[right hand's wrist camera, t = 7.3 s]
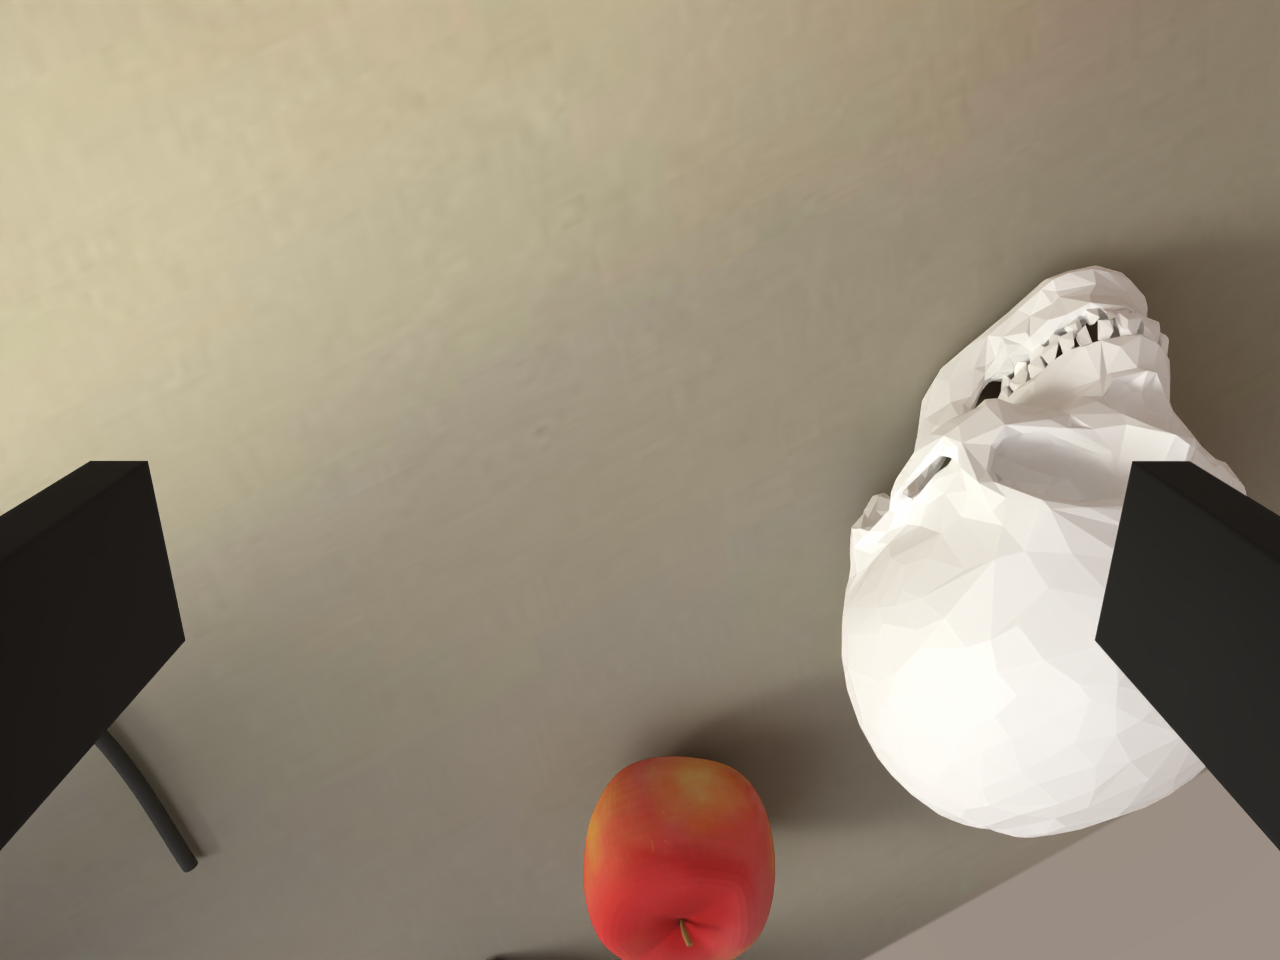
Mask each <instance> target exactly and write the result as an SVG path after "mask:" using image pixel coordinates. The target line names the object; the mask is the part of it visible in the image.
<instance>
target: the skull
mask: <svg viewBox="0 0 1280 960" xmlns="http://www.w3.org/2000/svg"><path fill="white" fill-rule="evenodd" d="M1147 310H1148V306H1147V303H1146V299H1145V296H1144V295H1143V294H1142V293H1141V292H1140V291H1139V289H1138V288H1137V287H1136V286H1135V285H1134V284H1133V283H1132V281H1131V280H1129V279H1128V278H1127V277H1126V276H1125V275H1124V274H1123V273H1122V272H1118V271H1115V270H1111V269H1107V268H1104V267H1100V266H1097V265H1095V266H1090V267H1085V268H1080V269H1075V270H1070V271H1066V272H1064V273H1061V274H1058V275H1056V276H1053V277H1050V278H1048V279H1045V280H1044V281H1043V282H1041V283H1040V284H1039V285H1038V286H1037V287H1036V288H1035V289H1034V290H1032V291H1031V292H1030V293H1029V294H1028V295H1027V296H1026V297H1025V298H1024V299H1022V300H1021V301H1020V302H1019V303H1018V304H1017V305H1016V306H1015V307H1014V308H1012V309H1011V310H1010V311H1009V312H1008V313H1007V314H1006V315H1004V316H1003V317H1002V318H1001V319H1000V320H998V321H997V322H996V323H995V324H993V325H992V326H991V327H990V328H989V329H987V330H986V331H985V332H984V333H982V334H981V335H980V336H979V337H978V338H976V339H975V340H974V341H973V342H972V343H970V344H969V345H968V346H967V347H965V348H964V349H963V350H962V351H961V352H960V353H958V354H957V355H956V356H955V357H954V358H953V359H951V360H950V361H949V362H948V363H947V364H946V365H944V366H943V367H942V368H941V369H940V371H939V373H938V374H937V376H936V378H935V379H934V381H933V383H932V384H931V386H930V388H929V389H928V391H927V393H926V395H925V397H924V398H923V400H922V405H921V413H920V420H919V427H918V434H917V439H916V444H915V450H914V453H913V455H912V456H911V458H910V459H909V461H908V462H907V464H906V465H905V467H904V468H903V470H902V471H901V473H900V474H899V476H898V477H897V478H896V481H895V483H894V486H893V488H892V491H891V497H890V496H888V495H887V494H885V493H881V494H877V495H874V496H872V498H871V500H870V501H869V503H868V505H867V507H866V508H865V510H864V513H863V515H862V516H861V517H860V518H859V519H858V520H857V522H856V523H855V524H854V525H853V526H852V530H851V538H850V561H851V568H850V575H849V581H848V584H847V588H846V594H845V602H844V610H843V618H842V661H843V667H844V673H845V679H846V686H847V691H848V694H849V696H850V699H851V702H852V705H853V708H854V711H855V714H856V717H857V719H858V722H859V725H860V727H861V729H862V731H863V732H864V734H865V736H866V738H867V740H868V741H869V743H870V745H871V747H872V749H873V750H874V752H875V754H876V756H877V757H878V759H879V760H880V761H881V763H882V764H883V765H884V766H885V768H886V769H887V770H888V771H889V773H890V774H891V775H892V776H893V777H894V778H895V779H896V780H897V781H898V782H899V783H900V784H901V785H902V786H903V787H904V788H905V789H906V790H907V791H908V792H909V793H910V794H912V795H913V796H914V797H916V798H917V799H918V800H920V801H921V802H922V803H924V804H925V805H927V806H928V807H929V808H931V809H932V810H933V811H935V812H936V813H938V814H939V815H941V816H943V817H946V818H948V819H950V820H953V821H956V822H958V823H961V824H963V825H968V826H972V827H977V828H983V829H991V830H993V831H996V832H999V833H1003V834H1007V835H1011V836H1015V837H1025V838H1032V837H1040V836H1047V835H1054V834H1059V833H1064V832H1069V831H1074V830H1079V829H1083V828H1086V827H1089V826H1092V825H1095V824H1098V823H1101V822H1104V821H1107V820H1110V819H1113V818H1116V817H1119V816H1122V815H1125V814H1127V813H1130V812H1133V811H1136V810H1139V809H1142V808H1145V807H1147V806H1149V805H1151V804H1153V803H1154V802H1157V801H1159V800H1160V799H1162V798H1164V797H1166V796H1168V795H1170V794H1171V793H1173V792H1174V791H1175V790H1177V789H1178V788H1180V787H1181V786H1183V785H1184V784H1185V783H1187V782H1188V781H1190V780H1191V779H1193V778H1194V777H1195V776H1196V775H1197V774H1198V773H1199V772H1200V771H1202V770H1203V769H1204V768H1205V767H1206V766H1205V765H1204V764H1203V763H1202V762H1201V761H1200V759H1199V758H1198V757H1197V756H1196V755H1195V754H1194V753H1193V752H1192V750H1191V749H1190V748H1189V747H1188V746H1187V745H1186V744H1185V742H1184V741H1183V740H1182V739H1181V738H1180V737H1179V736H1178V734H1177V733H1176V732H1175V731H1174V730H1173V729H1172V728H1171V727H1170V725H1169V724H1168V723H1167V722H1166V721H1165V720H1164V719H1163V717H1162V716H1161V715H1160V714H1159V713H1158V712H1157V711H1156V709H1155V708H1154V707H1153V706H1152V705H1151V704H1150V703H1149V702H1148V700H1147V699H1146V698H1145V697H1144V696H1143V695H1142V694H1141V692H1140V691H1139V690H1138V689H1137V688H1136V687H1135V686H1134V684H1133V683H1132V682H1131V681H1130V680H1129V679H1128V678H1127V677H1126V675H1125V674H1124V673H1123V672H1122V671H1121V670H1120V669H1119V667H1118V666H1117V665H1116V664H1115V663H1114V662H1113V661H1112V660H1111V658H1110V657H1109V656H1108V655H1107V654H1106V653H1105V652H1104V650H1103V649H1102V648H1101V647H1100V646H1099V645H1098V644H1097V642H1096V641H1095V637H1096V632H1097V627H1098V622H1099V617H1100V613H1101V608H1102V603H1103V598H1104V594H1105V589H1106V584H1107V579H1108V575H1109V570H1110V565H1111V560H1112V555H1113V551H1114V546H1115V541H1116V536H1117V532H1118V527H1119V522H1120V517H1121V512H1122V508H1123V503H1124V498H1125V493H1126V489H1127V484H1128V479H1129V474H1130V470H1131V465H1132V461H1190V462H1192V463H1194V464H1195V465H1197V466H1199V467H1200V468H1202V469H1204V470H1205V471H1207V472H1208V473H1210V474H1212V475H1213V476H1215V477H1217V478H1218V479H1220V480H1221V481H1223V482H1225V483H1226V484H1228V485H1230V486H1231V487H1233V488H1234V489H1236V490H1238V491H1239V492H1241V493H1243V494H1244V495H1246V490H1245V487H1244V486H1243V484H1242V483H1241V482H1240V480H1239V479H1238V478H1237V476H1236V475H1235V474H1234V473H1233V471H1232V470H1231V469H1230V467H1229V466H1228V465H1227V464H1226V463H1225V462H1223V461H1220V460H1217V459H1215V458H1214V457H1213V456H1212V455H1211V454H1210V453H1208V452H1207V451H1206V450H1205V449H1204V448H1203V447H1202V446H1201V445H1200V443H1199V442H1198V441H1197V440H1196V438H1195V437H1194V436H1193V434H1192V433H1191V432H1190V431H1189V429H1188V428H1187V427H1186V426H1185V425H1184V423H1183V422H1182V421H1181V420H1180V419H1179V417H1178V416H1177V415H1176V414H1175V413H1174V411H1173V410H1172V407H1171V404H1170V360H1169V358H1168V357H1167V354H1168V345H1169V339H1168V337H1167V336H1166V335H1165V334H1163V333H1161V332H1160V324H1159V322H1157V321H1155V320H1152V319H1150V318H1148V317H1147ZM1101 319H1105V320H1101ZM1097 320H1098V340H1099V341H1096V342H1093V343H1092V340H1091V338H1090V335H1089V333H1088V330H1087V328H1086V325H1085V326H1084V327H1083V328H1082V325H1084V324H1086V323H1088V324H1089V325H1093V324H1095V322H1096V321H1097ZM1066 332H1067V333H1066ZM1064 333H1066V334H1064ZM1063 334H1064V335H1063ZM1075 338H1076V340H1077V342H1078V343H1079V345H1080V346H1079V347H1076V348H1075V346H1074V339H1075ZM1058 345H1060V346H1061V349H1062V352H1063V354H1062V355H1061V356H1059V357H1058V358H1056V355H1057V352H1058ZM1046 362H1047V364H1048V365H1047V366H1046V364H1045V363H1046ZM1028 363H1029V364H1028ZM1013 375H1014V377H1013V378H1012V380H1011V379H1010V378H1011V377H1012V376H1013ZM1030 378H1031V379H1030ZM991 381H998V382H1002V383H1001V393H1000V395H999V397H998V399H997V398H994V399H985V400H984V401H983V402H982V403H981V404H980V405H978V406H977V407H976V408H975V406H976V404H977V401H978V398H979V396H980V394H981V392H982V391H983V389H984V388H985V387H986V385H987V384H988V383H989V382H991ZM1012 390H1013V393H1012V392H1011V391H1012ZM946 457H950V458H951V459H952V460H951V461H950V463H949V464H948V466H946V467H945V468H943V469H942V470H940V471H939V469H940V468H941V467H942V465H943V463H944V461H945V459H946ZM938 471H939V472H938ZM1246 496H1247V495H1246Z"/></svg>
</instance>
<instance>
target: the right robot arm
mask: <svg viewBox="0 0 1280 960" xmlns="http://www.w3.org/2000/svg"><path fill="white" fill-rule="evenodd" d="M184 641H185V637H184V632H183V627H182V622H181V617H180V613H179V608H178V603H177V598H176V594H175V589H174V584H173V579H172V575H171V570H170V565H169V560H168V555H167V551H166V546H165V541H164V536H163V532H162V527H161V522H160V517H159V512H158V508H157V503H156V498H155V493H154V489H153V484H152V479H151V474H150V470H149V465H148V461H90V462H88V463H86V464H85V465H83V466H81V467H80V468H78V469H76V470H75V471H73V472H72V473H70V474H68V475H67V476H65V477H63V478H62V479H60V480H59V481H57V482H55V483H54V484H52V485H50V486H49V487H47V488H46V489H44V490H42V491H41V492H39V493H37V494H36V495H34V496H32V497H31V498H29V499H28V500H26V501H24V502H23V503H21V504H19V505H18V506H16V507H15V508H13V509H11V510H10V511H8V512H6V513H5V514H3V515H2V516H0V850H1V849H2V848H3V847H4V846H5V845H6V844H7V842H8V841H9V840H10V839H11V838H12V837H13V836H14V834H15V833H16V832H17V831H18V830H19V829H20V828H21V827H22V825H23V824H24V823H25V822H26V821H27V820H28V819H29V817H30V816H31V815H32V814H33V813H34V812H35V811H36V809H37V808H38V807H39V806H40V805H41V804H42V803H43V802H44V800H45V799H46V798H47V797H48V796H49V795H50V794H51V792H52V791H53V790H54V789H55V788H56V787H57V786H58V784H59V783H60V782H61V781H62V780H63V779H64V778H65V777H66V775H67V774H68V773H69V772H70V771H71V770H72V769H73V767H74V766H75V765H76V764H77V763H78V762H79V761H80V759H81V758H82V757H83V756H84V755H85V754H86V753H87V752H88V750H89V749H90V748H91V747H92V746H93V745H94V744H95V745H96V746H97V747H98V748H99V749H100V750H101V752H102V753H103V754H104V755H105V756H106V758H107V759H108V760H109V761H110V763H111V764H112V765H113V766H114V768H115V769H116V770H117V772H118V773H119V774H120V776H121V777H122V778H123V780H124V781H125V782H126V784H127V785H128V786H129V788H130V789H131V791H132V792H133V793H134V795H135V796H136V798H137V799H138V801H139V802H140V804H141V805H142V807H143V808H144V810H145V811H146V813H147V815H148V816H149V818H150V819H151V821H152V823H153V824H154V826H155V827H156V829H157V831H158V832H159V834H160V835H161V837H162V839H163V840H164V842H165V843H166V845H167V847H168V848H169V850H170V851H171V853H172V854H173V856H174V858H175V859H176V861H177V862H178V864H179V865H180V867H181V868H182V870H183V871H184V872H189V871H191V870H193V869H194V868H195V867H196V866H197V864H198V861H197V860H196V858H195V857H194V855H193V854H192V852H191V851H190V849H189V847H188V846H187V844H186V843H185V841H184V839H183V838H182V836H181V835H180V833H179V831H178V830H177V828H176V826H175V825H174V823H173V821H172V820H171V818H170V817H169V815H168V813H167V812H166V810H165V808H164V807H163V805H162V804H161V802H160V801H159V799H158V797H157V796H156V794H155V793H154V791H153V790H152V788H151V787H150V785H149V784H148V782H147V781H146V779H145V778H144V777H143V775H142V774H141V772H140V771H139V770H138V768H137V767H136V766H135V764H134V763H133V762H132V760H131V759H130V758H129V756H128V755H127V754H126V752H125V751H124V750H123V749H122V747H121V746H120V745H119V744H118V743H117V741H116V740H115V739H114V738H113V737H112V736H111V734H110V733H109V732H108V731H107V729H108V728H109V727H110V725H111V724H112V723H113V722H114V721H115V720H116V719H117V717H118V716H119V715H120V714H121V713H122V712H123V711H124V709H125V708H126V707H127V706H128V705H129V704H130V703H131V702H132V700H133V699H134V698H135V697H136V696H137V695H138V694H139V692H140V691H141V690H142V689H143V688H144V687H145V686H146V684H147V683H148V682H149V681H150V680H151V679H152V678H153V677H154V675H155V674H156V673H157V672H158V671H159V670H160V669H161V667H162V666H163V665H164V664H165V663H166V662H167V661H168V660H169V658H170V657H171V656H172V655H173V654H174V653H175V652H176V650H177V649H178V648H179V647H180V646H181V645H182V644H183V642H184ZM1095 641H1096V642H1097V644H1098V645H1099V646H1100V647H1101V648H1102V649H1103V650H1104V652H1105V653H1106V654H1107V655H1108V656H1109V657H1110V658H1111V660H1112V661H1113V662H1114V663H1115V664H1116V665H1117V666H1118V667H1119V669H1120V670H1121V671H1122V672H1123V673H1124V674H1125V675H1126V677H1127V678H1128V679H1129V680H1130V681H1131V682H1132V683H1133V684H1134V686H1135V687H1136V688H1137V689H1138V690H1139V691H1140V692H1141V694H1142V695H1143V696H1144V697H1145V698H1146V699H1147V700H1148V702H1149V703H1150V704H1151V705H1152V706H1153V707H1154V708H1155V709H1156V711H1157V712H1158V713H1159V714H1160V715H1161V716H1162V717H1163V719H1164V720H1165V721H1166V722H1167V723H1168V724H1169V725H1170V727H1171V728H1172V729H1173V730H1174V731H1175V732H1176V733H1177V734H1178V736H1179V737H1180V738H1181V739H1182V740H1183V741H1184V742H1185V744H1186V745H1187V746H1188V747H1189V748H1190V749H1191V750H1192V752H1193V753H1194V754H1195V755H1196V756H1197V757H1198V758H1199V759H1200V761H1201V762H1202V763H1203V764H1204V765H1205V766H1206V767H1207V769H1208V770H1209V771H1210V772H1211V773H1212V774H1213V775H1214V776H1215V778H1216V779H1217V780H1218V781H1219V782H1220V783H1221V784H1222V786H1223V787H1224V788H1225V789H1226V790H1227V791H1228V792H1229V794H1230V795H1231V796H1232V797H1233V798H1234V799H1235V800H1236V801H1237V803H1238V804H1239V805H1240V806H1241V807H1242V808H1243V809H1244V811H1245V812H1246V813H1247V814H1248V815H1249V816H1250V817H1251V818H1252V820H1253V821H1254V822H1255V823H1256V824H1257V825H1258V827H1259V828H1260V829H1261V830H1262V831H1263V832H1264V833H1265V834H1266V836H1267V837H1268V838H1269V839H1270V840H1271V841H1272V842H1273V843H1274V845H1275V846H1276V847H1277V848H1278V849H1279V850H1280V516H1278V515H1277V514H1275V513H1274V512H1272V511H1270V510H1269V509H1267V508H1265V507H1264V506H1262V505H1261V504H1259V503H1257V502H1256V501H1254V500H1252V499H1251V498H1249V497H1248V496H1246V495H1244V494H1243V493H1241V492H1239V491H1238V490H1236V489H1234V488H1233V487H1231V486H1230V485H1228V484H1226V483H1225V482H1223V481H1221V480H1220V479H1218V478H1217V477H1215V476H1213V475H1212V474H1210V473H1208V472H1207V471H1205V470H1204V469H1202V468H1200V467H1199V466H1197V465H1195V464H1194V463H1192V462H1190V461H1132V465H1131V470H1130V474H1129V479H1128V484H1127V489H1126V493H1125V498H1124V503H1123V508H1122V512H1121V517H1120V522H1119V527H1118V532H1117V536H1116V541H1115V546H1114V551H1113V555H1112V560H1111V565H1110V570H1109V575H1108V579H1107V584H1106V589H1105V594H1104V598H1103V603H1102V608H1101V613H1100V617H1099V622H1098V627H1097V632H1096V637H1095Z"/></svg>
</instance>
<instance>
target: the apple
mask: <svg viewBox="0 0 1280 960" xmlns="http://www.w3.org/2000/svg"><path fill="white" fill-rule="evenodd" d="M774 883H775V853H774V844H773V837H772V832H771V828H770V823H769V820H768V817H767V814H766V811H765V808H764V806H763V804H762V801H761V799H760V797H759V795H758V794H757V792H756V791H755V789H754V788H753V786H752V785H751V783H750V782H749V781H748V780H747V779H746V778H745V777H744V776H743V775H742V774H741V773H740V772H738V771H737V770H735V769H734V768H732V767H730V766H727V765H725V764H722V763H719V762H715V761H711V760H706V759H700V758H693V757H681V756H665V757H654V758H649V759H645V760H641V761H639V762H636V763H633V764H631V765H629V766H627V767H625V768H624V769H622V770H621V771H620V772H619V773H618V774H616V776H615V777H614V778H613V779H612V780H611V781H610V782H609V784H608V785H607V787H606V788H605V790H604V791H603V793H602V795H601V796H600V798H599V800H598V802H597V804H596V807H595V809H594V811H593V814H592V816H591V820H590V823H589V827H588V831H587V837H586V844H585V853H584V891H585V898H586V904H587V909H588V912H589V916H590V919H591V922H592V925H593V927H594V929H595V931H596V933H597V935H598V937H599V939H600V940H601V941H602V943H603V944H604V945H605V946H606V947H607V948H608V949H609V950H610V951H611V952H612V953H614V954H615V955H616V956H618V957H619V958H620V959H622V960H733V959H735V958H736V957H738V956H739V955H741V954H742V953H744V952H745V951H746V950H747V949H749V948H750V947H751V946H752V945H753V944H754V942H755V941H756V940H757V939H758V937H759V935H760V934H761V932H762V930H763V929H764V926H765V924H766V921H767V918H768V916H769V912H770V908H771V904H772V899H773V892H774Z"/></svg>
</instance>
